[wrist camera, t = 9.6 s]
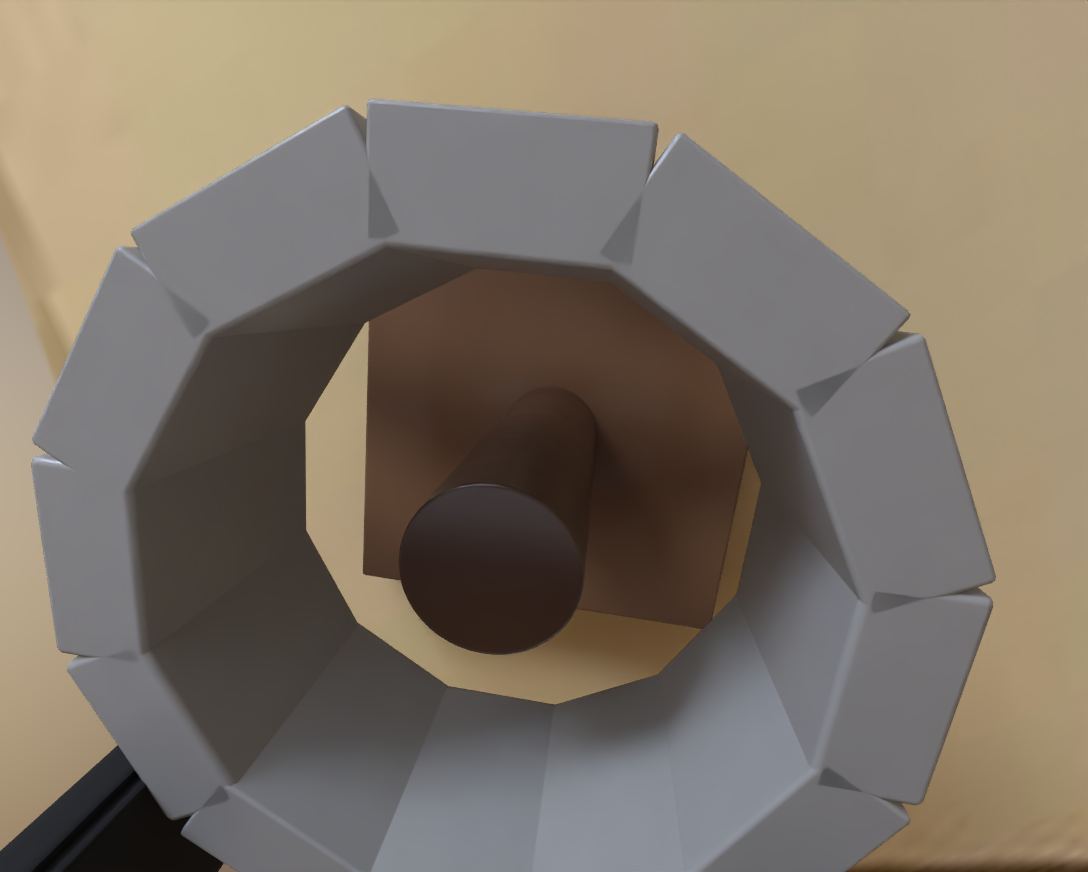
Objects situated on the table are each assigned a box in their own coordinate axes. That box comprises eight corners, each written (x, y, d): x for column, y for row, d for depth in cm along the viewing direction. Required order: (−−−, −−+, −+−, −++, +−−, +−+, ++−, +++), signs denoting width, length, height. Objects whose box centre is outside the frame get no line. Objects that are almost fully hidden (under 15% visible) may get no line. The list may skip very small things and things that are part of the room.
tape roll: (232, 160, 8) (-33, 63, 5) (906, 224, 8) (1160, 161, 4) (252, 701, 11) (87, 888, 7) (758, 793, 10) (837, 1050, 7)
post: (393, 217, 15) (82, 98, 6) (772, 255, 14) (1048, 181, 5) (382, 552, 17) (152, 809, 9) (701, 602, 16) (805, 943, 8)
